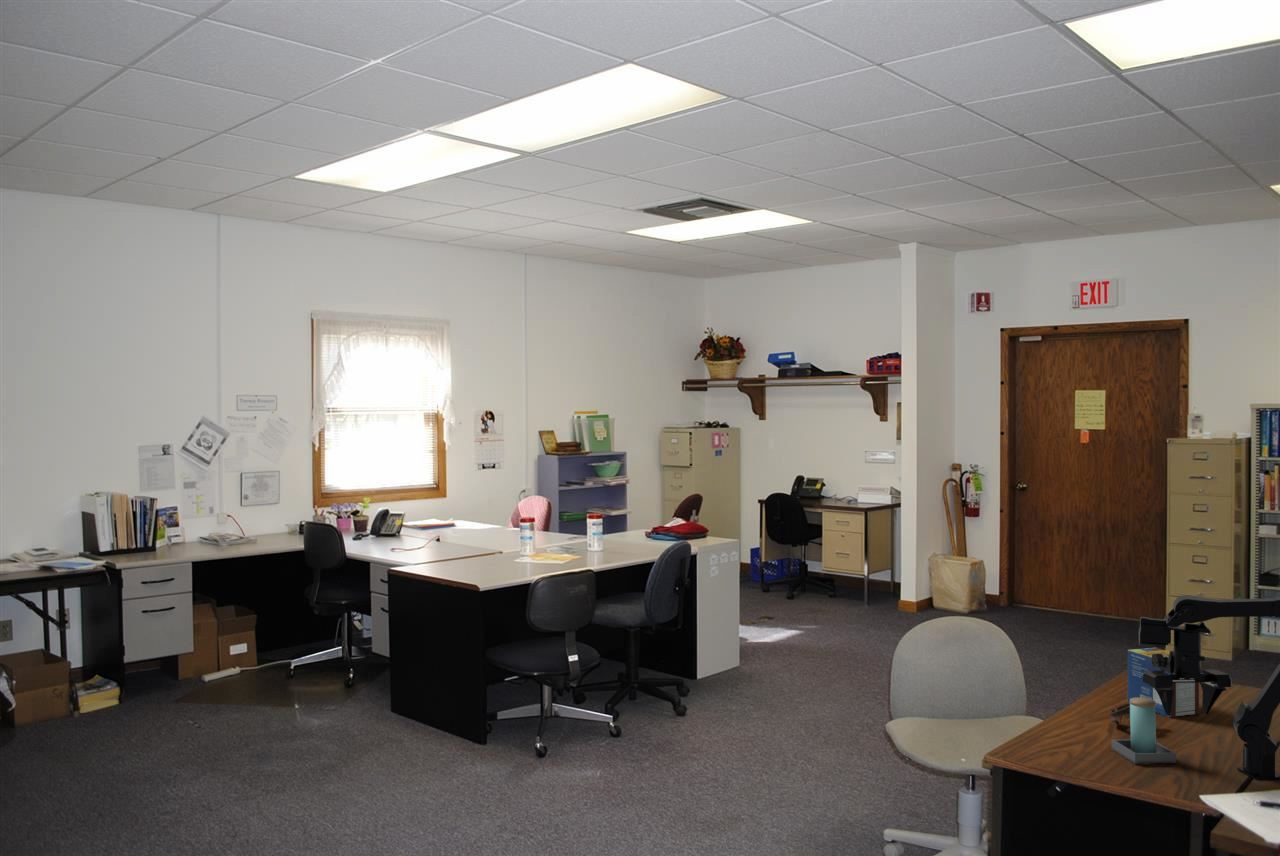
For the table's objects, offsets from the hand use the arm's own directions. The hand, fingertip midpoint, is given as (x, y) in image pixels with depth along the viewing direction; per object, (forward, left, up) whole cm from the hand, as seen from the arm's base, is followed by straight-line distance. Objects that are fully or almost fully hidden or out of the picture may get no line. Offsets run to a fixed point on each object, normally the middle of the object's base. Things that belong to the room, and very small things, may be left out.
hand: (1186, 714), depth 229 cm
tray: (+6, +7, -12) cm, 15 cm away
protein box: (+43, -21, -12) cm, 49 cm away
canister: (+6, +7, -11) cm, 14 cm away
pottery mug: (+26, -3, -12) cm, 29 cm away
